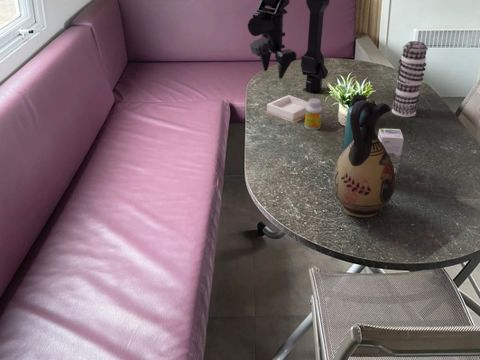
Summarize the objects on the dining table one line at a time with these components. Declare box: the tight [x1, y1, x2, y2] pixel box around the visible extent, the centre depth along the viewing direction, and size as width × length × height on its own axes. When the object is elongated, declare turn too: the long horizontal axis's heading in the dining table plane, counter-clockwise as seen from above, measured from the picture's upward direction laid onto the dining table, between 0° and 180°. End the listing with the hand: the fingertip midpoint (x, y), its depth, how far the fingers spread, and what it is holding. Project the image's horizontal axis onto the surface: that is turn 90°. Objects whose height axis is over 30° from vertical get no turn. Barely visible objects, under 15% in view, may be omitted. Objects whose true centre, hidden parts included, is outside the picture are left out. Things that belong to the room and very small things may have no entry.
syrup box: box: [377, 128, 404, 182], centre depth 139 cm, size 6×6×14 cm
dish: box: [266, 94, 309, 123], centre depth 181 cm, size 12×12×3 cm
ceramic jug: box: [331, 99, 396, 218], centre depth 122 cm, size 17×15×30 cm
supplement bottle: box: [304, 97, 323, 131], centre depth 169 cm, size 5×5×10 cm
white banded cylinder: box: [391, 40, 429, 118], centre depth 176 cm, size 9×9×25 cm
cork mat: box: [263, 109, 305, 124], centre depth 182 cm, size 14×14×1 cm
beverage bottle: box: [342, 93, 368, 153], centre depth 148 cm, size 6×7×20 cm
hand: (273, 74), depth 176 cm, fingers open, 9 cm apart
